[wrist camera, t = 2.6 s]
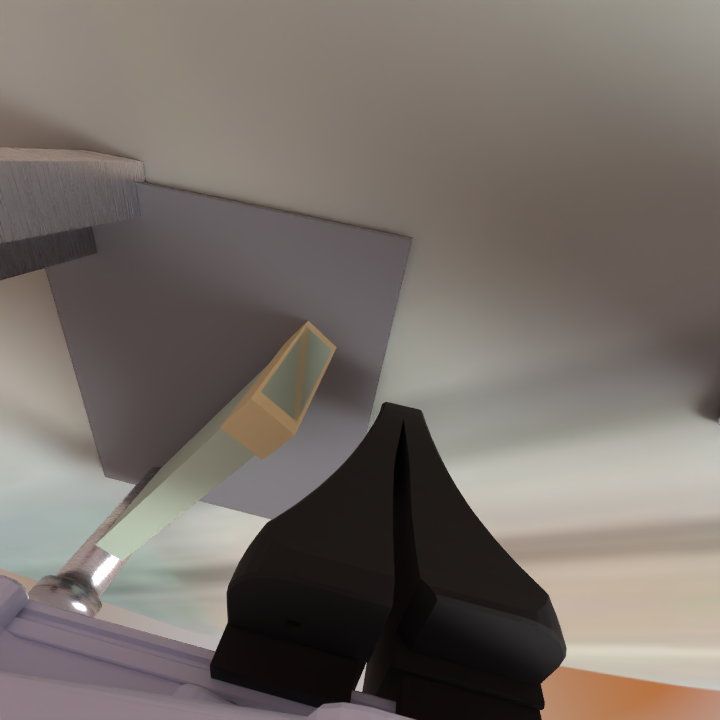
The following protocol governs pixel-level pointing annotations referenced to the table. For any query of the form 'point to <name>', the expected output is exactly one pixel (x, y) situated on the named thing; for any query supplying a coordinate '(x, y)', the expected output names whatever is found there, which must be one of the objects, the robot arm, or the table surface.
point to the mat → (225, 333)
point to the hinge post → (87, 568)
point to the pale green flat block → (228, 440)
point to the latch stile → (60, 204)
